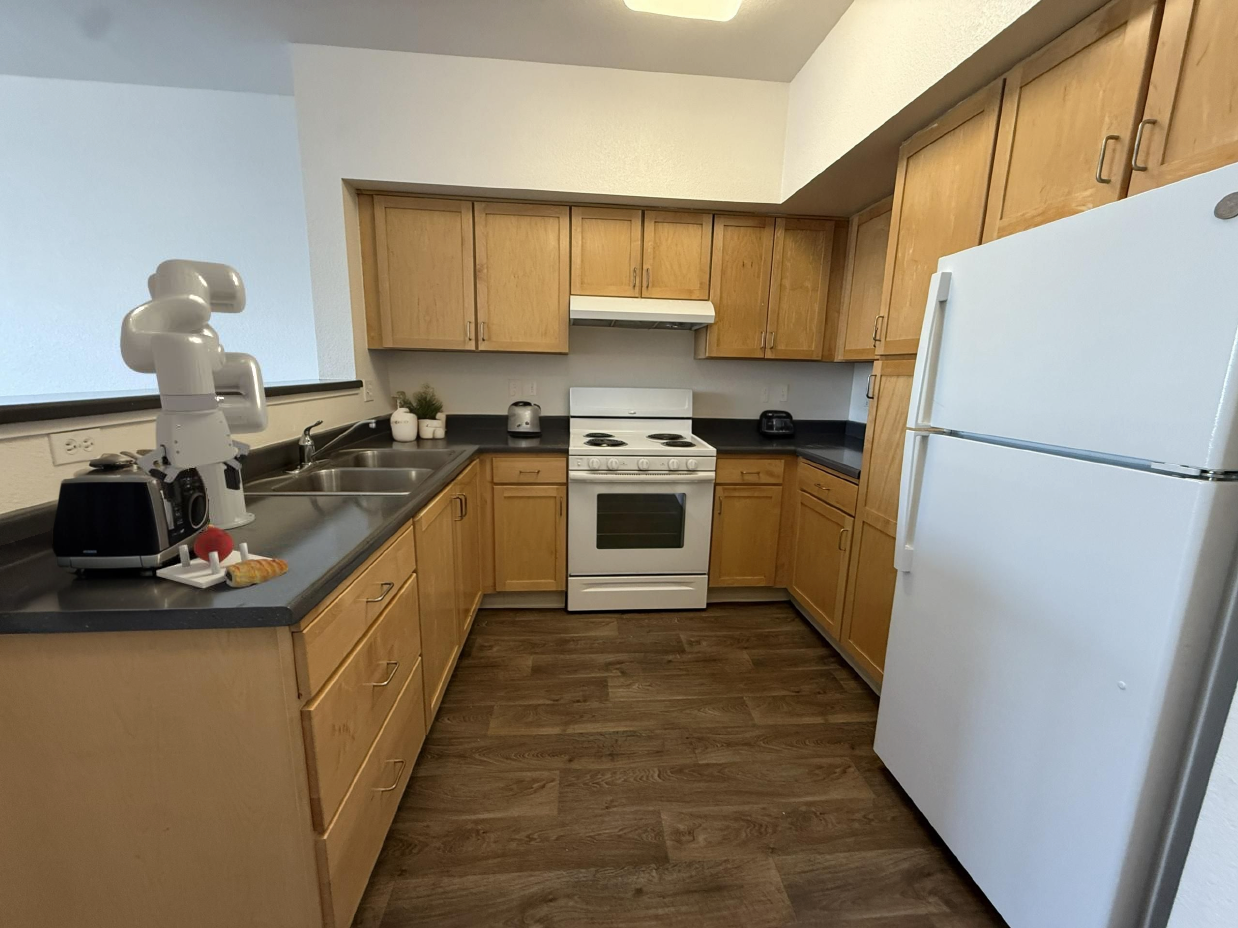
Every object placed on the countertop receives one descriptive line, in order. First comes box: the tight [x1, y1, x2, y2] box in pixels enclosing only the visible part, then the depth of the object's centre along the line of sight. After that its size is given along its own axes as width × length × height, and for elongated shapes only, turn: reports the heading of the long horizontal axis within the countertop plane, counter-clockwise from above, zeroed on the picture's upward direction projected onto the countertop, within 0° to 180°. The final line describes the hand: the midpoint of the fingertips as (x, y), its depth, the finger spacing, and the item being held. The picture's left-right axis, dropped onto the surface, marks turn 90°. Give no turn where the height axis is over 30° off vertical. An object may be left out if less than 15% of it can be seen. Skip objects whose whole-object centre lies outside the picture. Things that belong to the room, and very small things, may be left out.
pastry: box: [224, 558, 289, 588], centre depth 89 cm, size 9×7×4 cm
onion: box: [193, 524, 235, 563], centre depth 92 cm, size 6×6×8 cm
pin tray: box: [156, 542, 274, 589], centre depth 93 cm, size 14×12×5 cm
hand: (205, 495), depth 91 cm, fingers open, 9 cm apart
